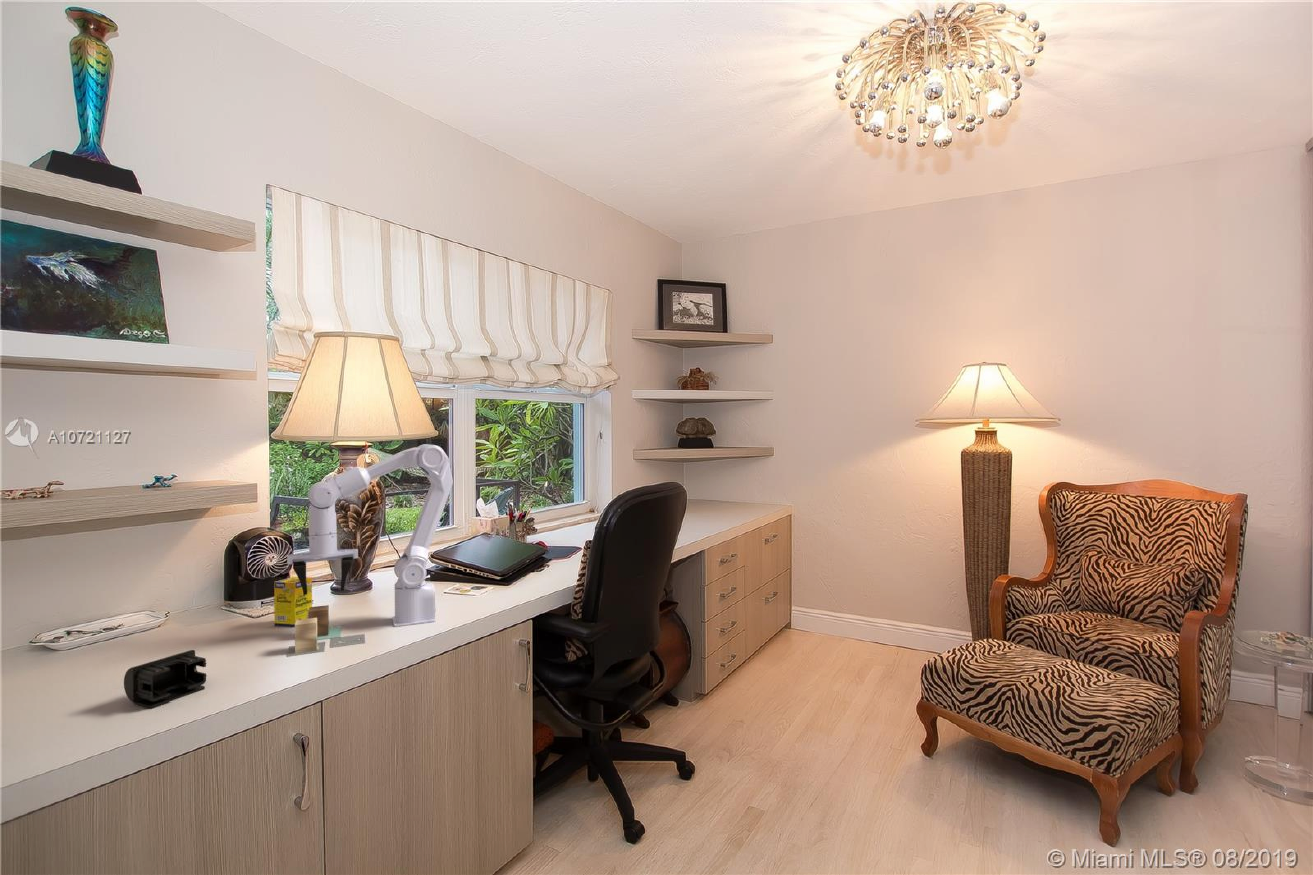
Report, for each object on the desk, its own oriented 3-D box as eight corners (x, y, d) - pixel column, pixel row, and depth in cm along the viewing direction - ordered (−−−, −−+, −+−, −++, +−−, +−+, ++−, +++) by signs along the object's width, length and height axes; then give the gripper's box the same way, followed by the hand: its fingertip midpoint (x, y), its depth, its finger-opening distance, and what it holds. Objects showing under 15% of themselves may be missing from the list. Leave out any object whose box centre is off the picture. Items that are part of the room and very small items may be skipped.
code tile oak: (325, 642, 142) (325, 641, 142) (324, 652, 136) (324, 651, 136) (289, 647, 139) (289, 646, 139) (286, 657, 133) (286, 656, 133)
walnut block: (328, 630, 150) (328, 605, 150) (328, 635, 146) (328, 609, 146) (309, 633, 148) (309, 607, 148) (308, 638, 144) (308, 611, 144)
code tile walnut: (364, 634, 147) (364, 633, 147) (365, 643, 141) (365, 643, 141) (330, 639, 144) (330, 638, 144) (329, 648, 138) (329, 647, 138)
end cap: (185, 683, 120) (185, 647, 120) (209, 689, 117) (208, 652, 117) (123, 704, 111) (122, 665, 111) (147, 711, 108) (146, 671, 108)
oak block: (317, 644, 140) (317, 617, 140) (316, 650, 136) (316, 622, 136) (296, 647, 138) (296, 620, 138) (295, 653, 135) (294, 625, 135)
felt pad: (341, 627, 153) (340, 625, 153) (340, 638, 145) (340, 636, 145) (298, 632, 149) (298, 631, 149) (295, 643, 141) (295, 642, 141)
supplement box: (295, 628, 153) (294, 582, 153) (273, 626, 154) (273, 581, 154) (313, 620, 159) (312, 577, 159) (292, 619, 160) (291, 576, 160)
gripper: (357, 528, 155) (358, 584, 155) (288, 533, 148) (289, 591, 149) (357, 532, 148) (358, 590, 149) (286, 538, 142) (287, 598, 142)
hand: (324, 591), depth 148 cm, fingers open, 7 cm apart
